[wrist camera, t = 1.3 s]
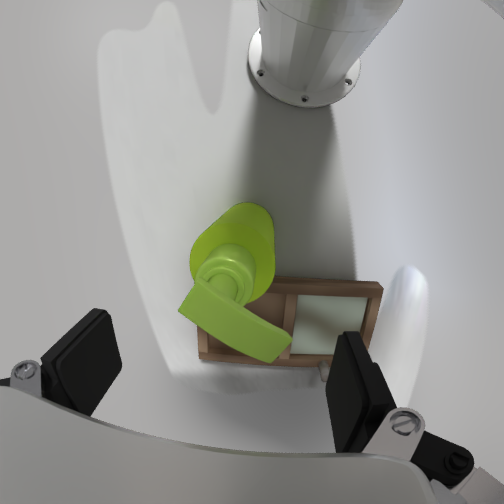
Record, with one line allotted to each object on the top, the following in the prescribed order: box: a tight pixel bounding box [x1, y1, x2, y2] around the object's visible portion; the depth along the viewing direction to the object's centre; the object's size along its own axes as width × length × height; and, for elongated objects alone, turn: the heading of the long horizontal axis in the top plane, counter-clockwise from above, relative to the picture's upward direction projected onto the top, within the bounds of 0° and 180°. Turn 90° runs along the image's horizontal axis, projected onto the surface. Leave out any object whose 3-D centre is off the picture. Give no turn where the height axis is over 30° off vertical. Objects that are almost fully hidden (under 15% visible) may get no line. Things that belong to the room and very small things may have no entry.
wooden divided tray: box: [197, 276, 383, 382], centre depth 32 cm, size 11×22×5 cm, turn 87°
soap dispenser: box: [178, 202, 293, 363], centre depth 22 cm, size 6×7×20 cm
